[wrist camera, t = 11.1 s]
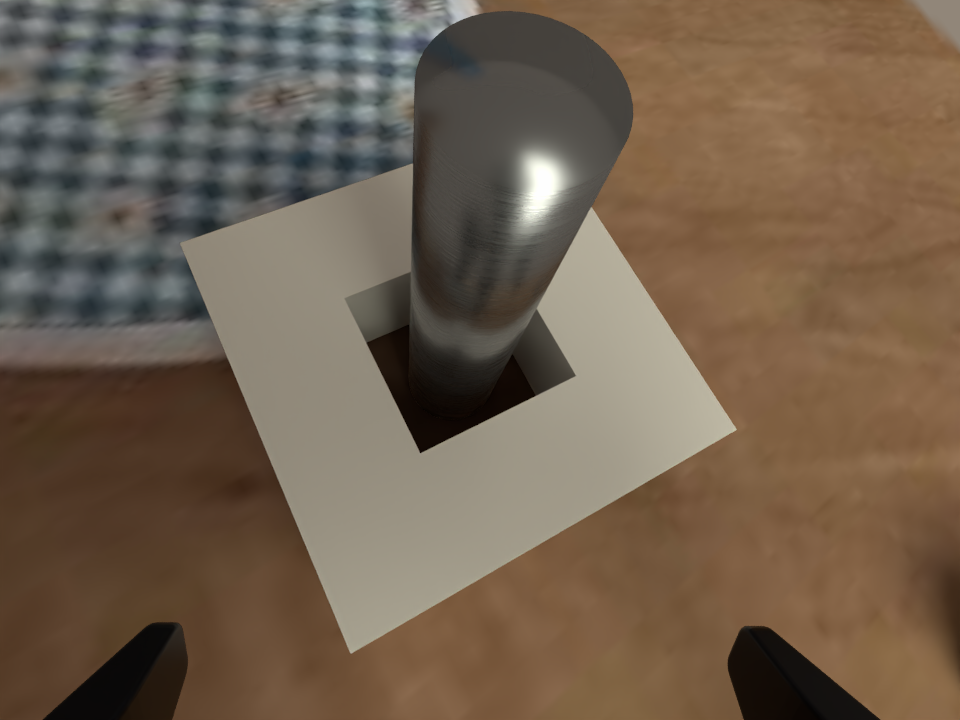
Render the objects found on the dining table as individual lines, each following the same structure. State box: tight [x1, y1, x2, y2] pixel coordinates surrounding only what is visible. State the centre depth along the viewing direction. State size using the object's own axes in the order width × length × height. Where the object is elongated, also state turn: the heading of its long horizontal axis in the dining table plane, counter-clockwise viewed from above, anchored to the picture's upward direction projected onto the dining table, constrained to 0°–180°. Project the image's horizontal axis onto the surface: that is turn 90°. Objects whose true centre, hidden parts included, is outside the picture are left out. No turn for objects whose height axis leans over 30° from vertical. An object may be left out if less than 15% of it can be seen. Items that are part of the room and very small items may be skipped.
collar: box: [180, 164, 736, 653], centre depth 18 cm, size 12×12×4 cm
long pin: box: [409, 11, 633, 420], centre depth 13 cm, size 3×3×13 cm
